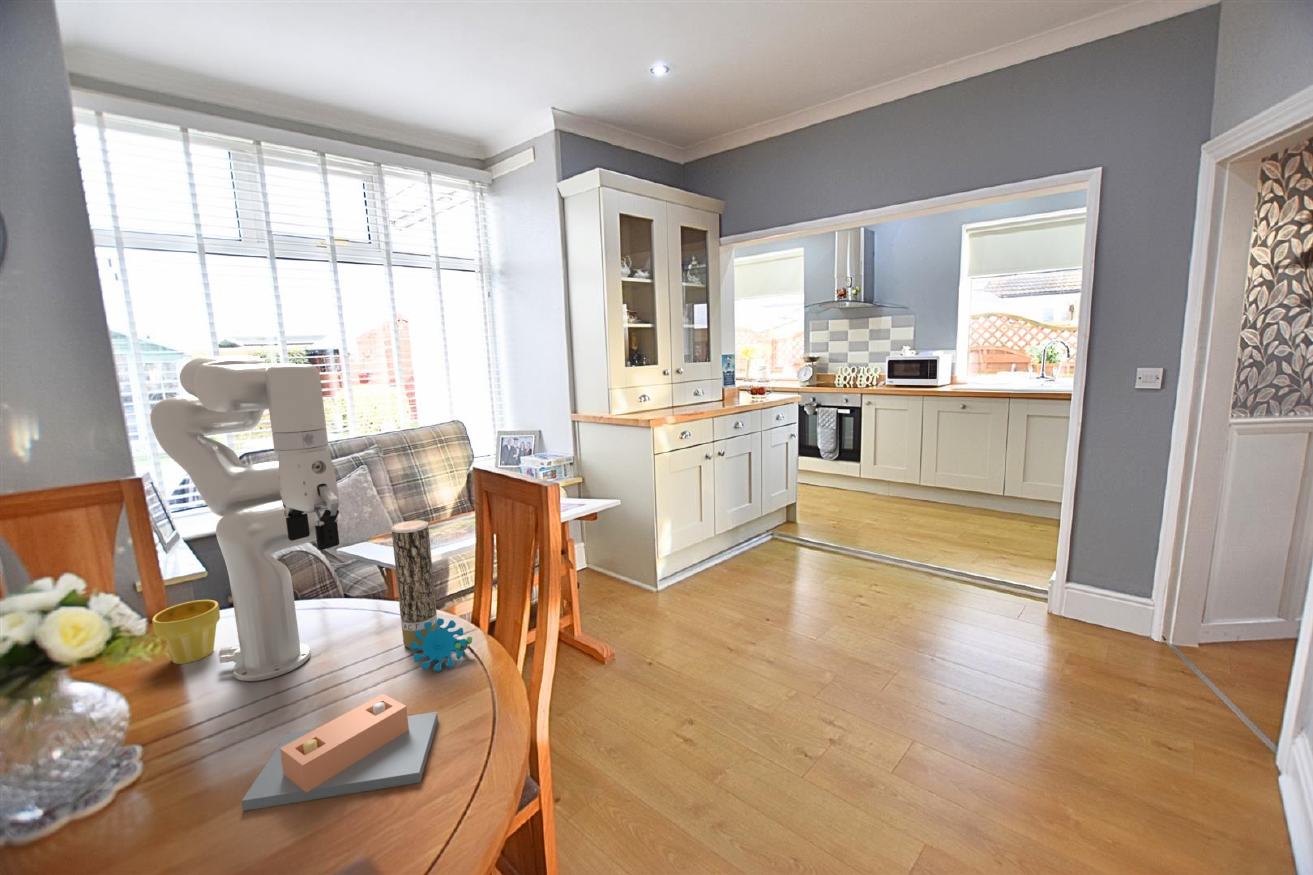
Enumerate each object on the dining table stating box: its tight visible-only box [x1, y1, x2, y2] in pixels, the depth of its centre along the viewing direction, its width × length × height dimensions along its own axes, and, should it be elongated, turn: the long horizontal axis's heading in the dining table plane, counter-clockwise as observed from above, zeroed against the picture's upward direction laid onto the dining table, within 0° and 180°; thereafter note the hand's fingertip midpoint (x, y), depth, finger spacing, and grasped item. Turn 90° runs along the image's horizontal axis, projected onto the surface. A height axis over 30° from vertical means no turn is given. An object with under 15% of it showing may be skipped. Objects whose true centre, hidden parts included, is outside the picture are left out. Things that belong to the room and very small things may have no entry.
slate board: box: [241, 702, 439, 812], centre depth 84 cm, size 22×14×6 cm, turn 101°
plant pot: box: [151, 599, 221, 665], centre depth 117 cm, size 10×10×10 cm
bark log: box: [391, 519, 438, 649], centre depth 118 cm, size 7×7×25 cm
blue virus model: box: [410, 617, 473, 673], centre depth 112 cm, size 11×6×10 cm
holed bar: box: [280, 693, 409, 793], centre depth 84 cm, size 15×6×4 cm, turn 146°
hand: (313, 542), depth 96 cm, fingers open, 9 cm apart
